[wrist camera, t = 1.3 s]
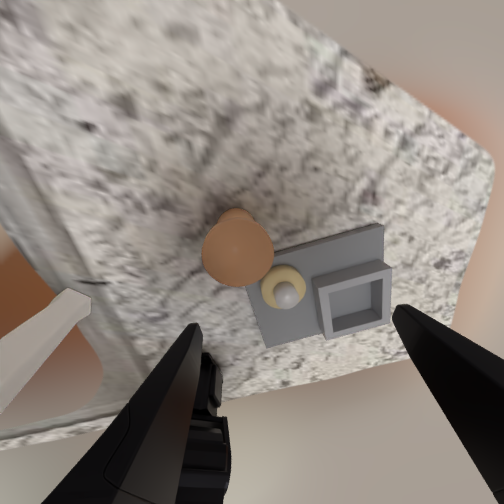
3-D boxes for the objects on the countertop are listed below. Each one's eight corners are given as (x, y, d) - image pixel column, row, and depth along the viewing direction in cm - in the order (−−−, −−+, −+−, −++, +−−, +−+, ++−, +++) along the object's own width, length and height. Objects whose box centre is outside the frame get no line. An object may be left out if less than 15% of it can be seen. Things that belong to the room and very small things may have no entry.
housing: (265, 342, 28) (270, 369, 24) (238, 262, 22) (239, 282, 19) (377, 311, 27) (400, 334, 24) (377, 223, 22) (406, 235, 18)
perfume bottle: (89, 284, 22) (-147, 487, 8) (100, 316, 24) (-79, 526, 10) (43, 285, 21) (-288, 502, 8) (58, 317, 23) (-190, 540, 10)
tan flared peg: (220, 256, 22) (216, 294, 16) (203, 210, 20) (189, 233, 13) (266, 242, 22) (280, 276, 15) (254, 195, 20) (264, 211, 13)
